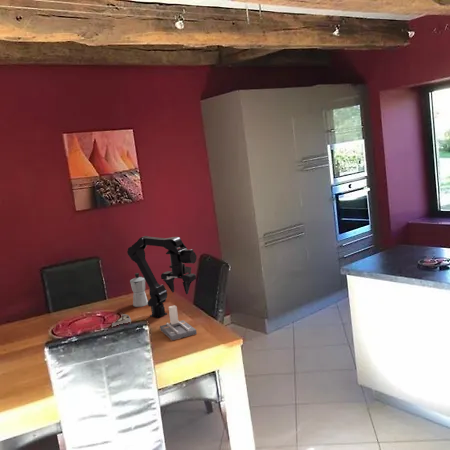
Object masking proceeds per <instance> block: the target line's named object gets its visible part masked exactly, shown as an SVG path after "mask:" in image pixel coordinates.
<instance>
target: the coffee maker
mask: <svg viewBox="0 0 450 450" xmlns="http://www.w3.org/2000/svg"><path fill="white" fill-rule="evenodd" d="M134 276H135V277H134V278H132V279H130V280H129V283H130V287H131V290H132V292H133V293H132V306H133V307H135V308H142V307H144V306H145V307H146V306H148V303H147V302H148V301H149V299H148V297H147V294H146V280H145V278H144V277H143V275H141V276H140V273H139V272H136V273H134Z"/></svg>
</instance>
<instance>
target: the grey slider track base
mask: <svg viewBox="0 0 450 450" xmlns="http://www.w3.org/2000/svg"><path fill="white" fill-rule="evenodd" d="M178 322H179V323H180V325H177V326H173V327H172V326H171V325H170V324H169V323H170V322H166V324H163V325H160V326H159V328H160V329H159V330H160V331H161V332H162V333H163V334H164V335H165V336H166V337H168V338H169V340H171V341H175V340H180V339H183V338H186V337H190V336H194V335H197V329H196V328H195V327H193V326H192V325H190V324H189V323H188V322H187V321H185V320H180V321H179V320H178Z"/></svg>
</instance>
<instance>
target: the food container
mask: <svg viewBox="0 0 450 450" xmlns="http://www.w3.org/2000/svg"><path fill="white" fill-rule="evenodd" d="M128 322H130V323H132V318H131V317H130V315H128V314H121V317H119V318H118V319H116V321H115V322H112V323H111V328H112V327H113V326H116V325H119V324H123V323H128Z"/></svg>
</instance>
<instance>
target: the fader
mask: <svg viewBox="0 0 450 450" xmlns="http://www.w3.org/2000/svg"><path fill="white" fill-rule="evenodd" d="M168 312H169V321H170V322H168V323H169V324H170V325H171V326H172V327H173V326H177V325H180V323H179V322H178V321H179V316H178V315H179V314H178V307H177V305H175V304H174V305H170V306H168Z"/></svg>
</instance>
